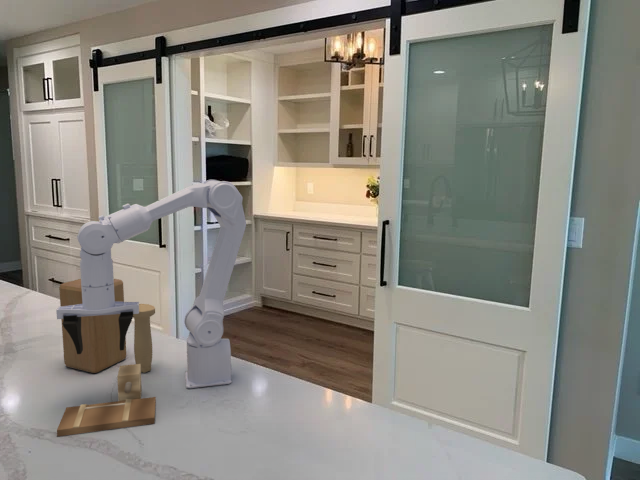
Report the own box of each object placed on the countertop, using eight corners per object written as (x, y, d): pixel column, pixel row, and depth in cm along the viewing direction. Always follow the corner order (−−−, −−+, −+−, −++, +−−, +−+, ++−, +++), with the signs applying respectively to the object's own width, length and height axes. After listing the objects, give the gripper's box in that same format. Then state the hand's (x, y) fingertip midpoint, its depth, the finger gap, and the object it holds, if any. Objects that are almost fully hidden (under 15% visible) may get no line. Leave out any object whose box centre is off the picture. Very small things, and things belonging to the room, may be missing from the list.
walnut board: (155, 402, 94) (155, 395, 94) (154, 423, 87) (154, 416, 87) (66, 413, 90) (66, 406, 89) (57, 436, 82) (56, 429, 82)
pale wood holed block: (141, 390, 99) (140, 363, 98) (139, 408, 92) (138, 379, 91) (121, 393, 98) (119, 365, 97) (117, 411, 91) (115, 382, 90)
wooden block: (62, 367, 109) (56, 283, 106) (97, 351, 118) (93, 274, 115) (95, 375, 105) (90, 288, 102) (128, 358, 115) (124, 278, 111)
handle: (142, 378, 105) (140, 313, 102) (126, 369, 108) (123, 307, 106) (161, 370, 108) (159, 308, 106) (145, 363, 112) (143, 302, 110)
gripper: (139, 276, 97) (141, 339, 99) (60, 280, 93) (64, 346, 95) (136, 285, 90) (139, 352, 93) (51, 289, 86) (56, 360, 88)
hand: (101, 350), depth 93 cm, fingers open, 7 cm apart
